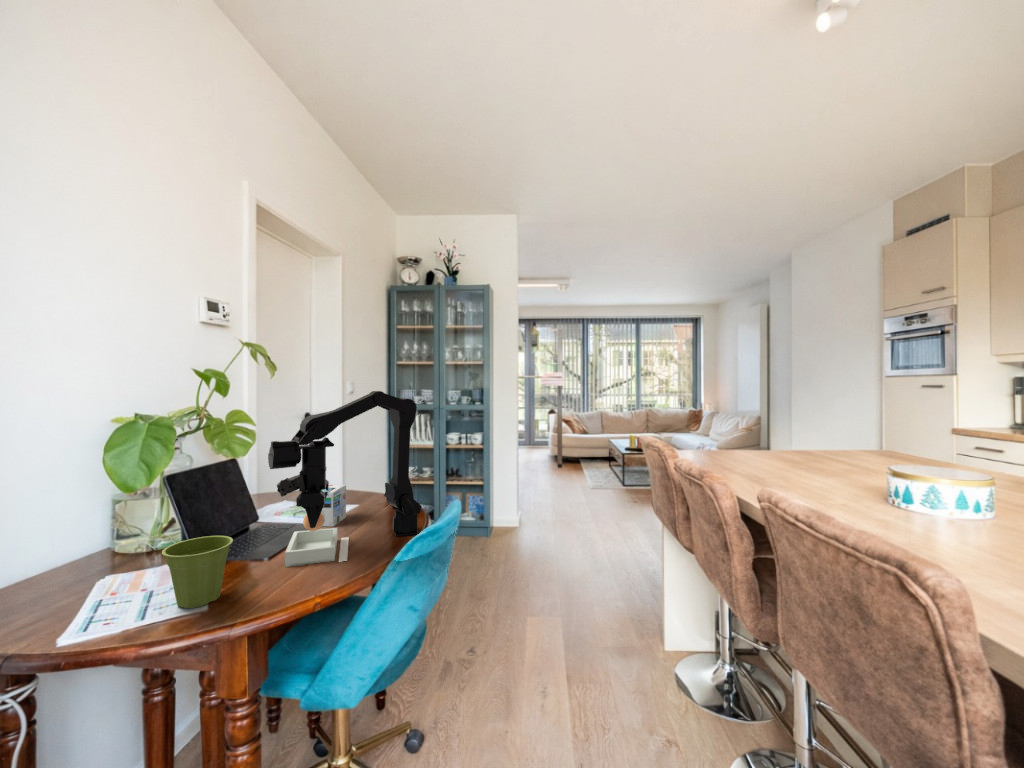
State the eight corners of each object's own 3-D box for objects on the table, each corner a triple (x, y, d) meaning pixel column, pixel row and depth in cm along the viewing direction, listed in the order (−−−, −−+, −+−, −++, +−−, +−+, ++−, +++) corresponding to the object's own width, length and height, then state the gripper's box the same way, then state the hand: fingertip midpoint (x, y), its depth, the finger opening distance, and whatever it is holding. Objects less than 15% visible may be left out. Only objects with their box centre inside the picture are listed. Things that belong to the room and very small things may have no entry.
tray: (337, 540, 127) (337, 527, 127) (334, 561, 112) (334, 547, 112) (294, 544, 123) (294, 531, 123) (285, 567, 108) (285, 552, 108)
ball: (324, 526, 121) (324, 508, 121) (323, 532, 116) (323, 513, 116) (304, 528, 119) (304, 509, 119) (302, 534, 114) (302, 514, 114)
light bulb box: (333, 527, 139) (333, 492, 139) (311, 527, 139) (311, 491, 139) (346, 517, 149) (346, 484, 149) (326, 516, 149) (326, 484, 149)
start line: (348, 537, 129) (348, 537, 129) (347, 561, 112) (347, 560, 112) (341, 538, 128) (341, 538, 128) (338, 562, 111) (338, 561, 111)
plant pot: (225, 582, 100) (225, 531, 100) (239, 601, 91) (239, 545, 91) (157, 600, 92) (157, 544, 92) (166, 622, 83) (166, 561, 83)
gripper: (285, 460, 124) (285, 517, 124) (272, 473, 106) (272, 539, 106) (329, 458, 127) (328, 513, 127) (324, 470, 110) (323, 535, 110)
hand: (313, 524), depth 118 cm, fingers closed on ball, 5 cm apart
